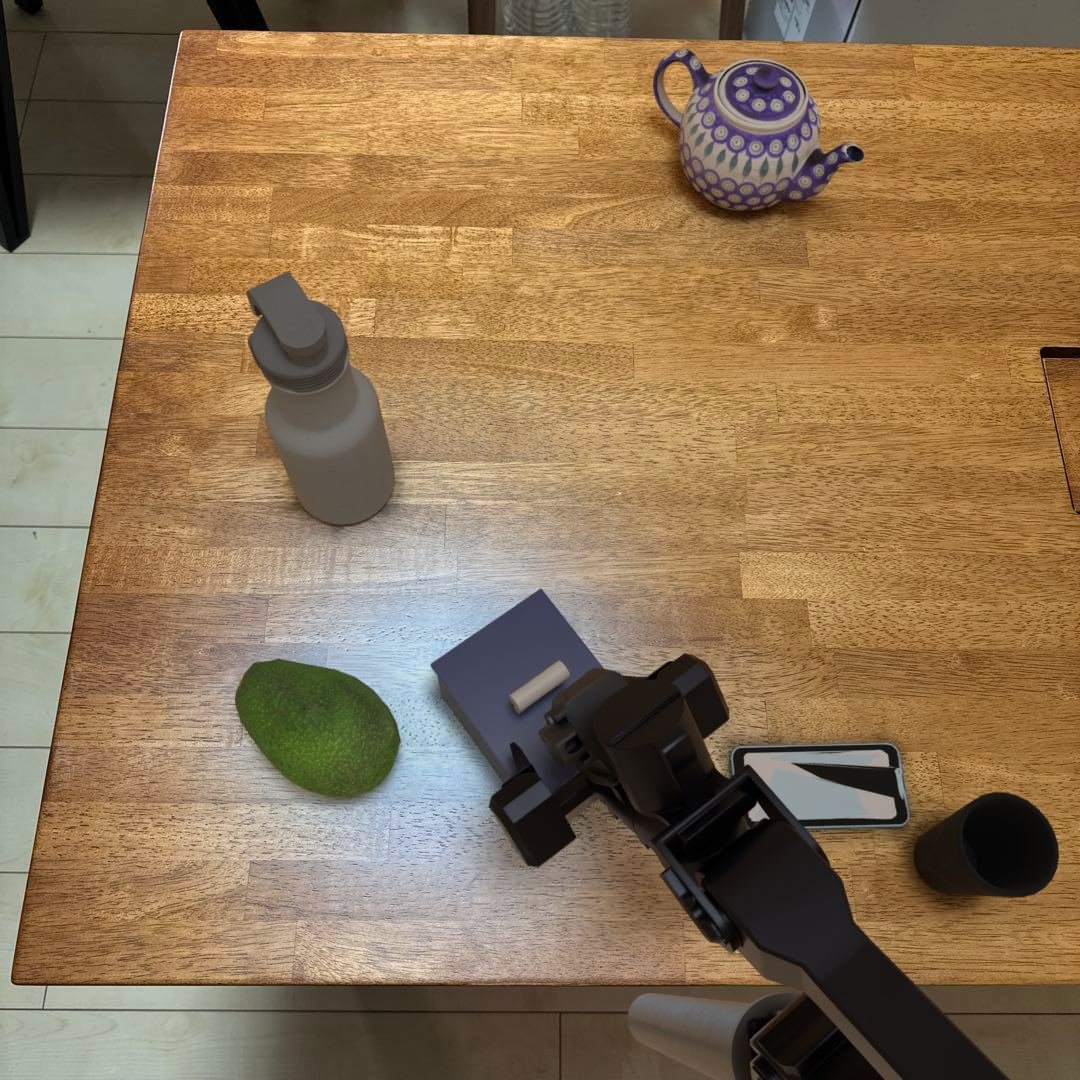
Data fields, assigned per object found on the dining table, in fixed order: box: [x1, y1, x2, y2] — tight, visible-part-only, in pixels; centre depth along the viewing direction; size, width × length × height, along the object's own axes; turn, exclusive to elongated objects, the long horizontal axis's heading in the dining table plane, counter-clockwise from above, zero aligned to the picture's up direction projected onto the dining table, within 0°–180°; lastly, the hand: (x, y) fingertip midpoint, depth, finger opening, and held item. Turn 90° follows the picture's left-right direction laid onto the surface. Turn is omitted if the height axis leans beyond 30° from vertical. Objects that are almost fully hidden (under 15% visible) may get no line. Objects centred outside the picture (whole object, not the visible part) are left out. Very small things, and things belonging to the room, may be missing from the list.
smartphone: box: [729, 741, 911, 831], centre depth 89 cm, size 7×1×15 cm
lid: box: [429, 588, 605, 793], centre depth 83 cm, size 14×12×4 cm
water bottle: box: [245, 271, 396, 526], centre depth 87 cm, size 10×10×28 cm
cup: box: [912, 791, 1060, 898], centre depth 82 cm, size 8×8×12 cm
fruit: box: [234, 658, 402, 798], centre depth 86 cm, size 15×10×10 cm, turn 55°
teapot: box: [652, 48, 865, 211], centre depth 110 cm, size 25×15×15 cm, turn 51°
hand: (560, 712), depth 81 cm, fingers open, 9 cm apart
